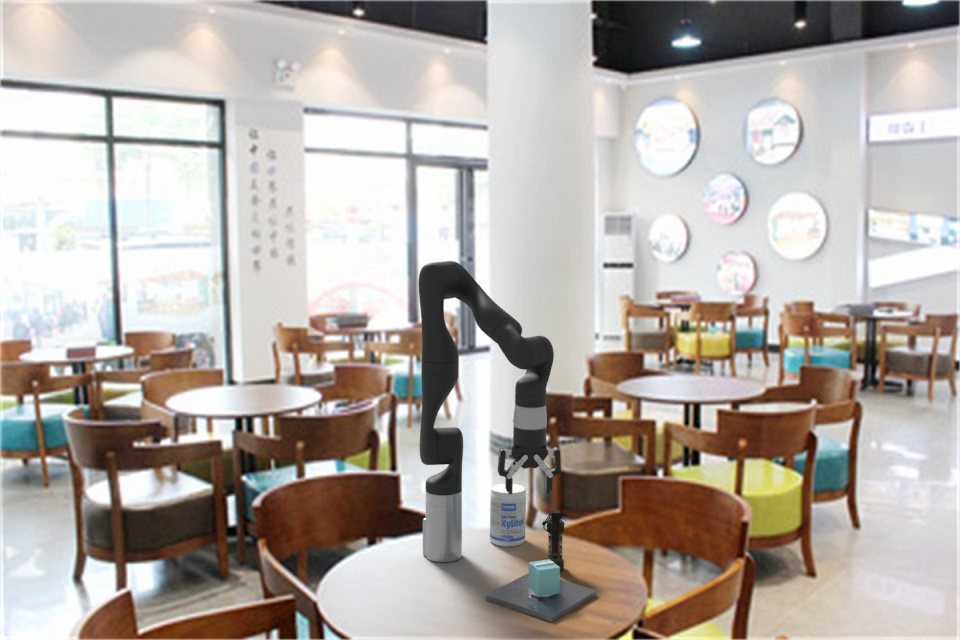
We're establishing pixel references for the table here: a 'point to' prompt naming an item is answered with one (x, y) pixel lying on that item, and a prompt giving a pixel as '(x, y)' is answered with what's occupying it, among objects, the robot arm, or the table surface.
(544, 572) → the teal cube with window
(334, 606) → the table surface
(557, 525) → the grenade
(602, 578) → the table surface
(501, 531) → the supplement tub
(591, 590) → the post base
